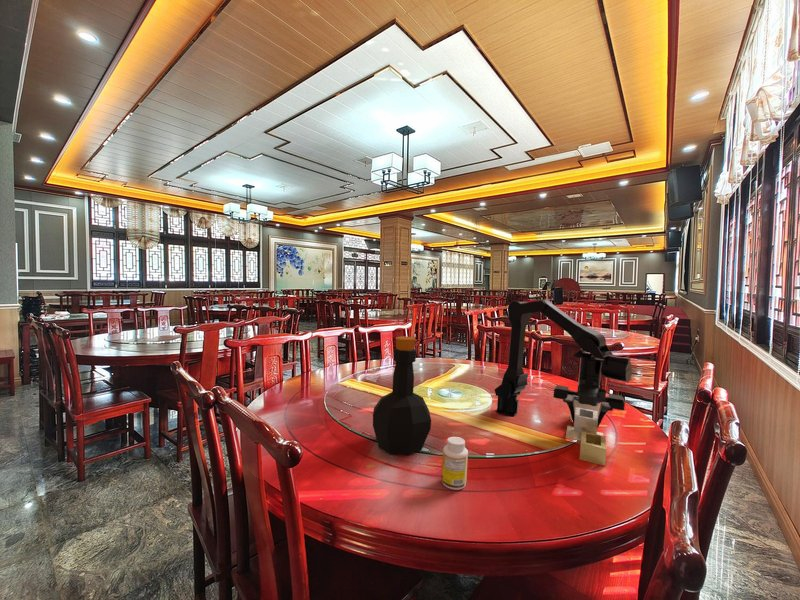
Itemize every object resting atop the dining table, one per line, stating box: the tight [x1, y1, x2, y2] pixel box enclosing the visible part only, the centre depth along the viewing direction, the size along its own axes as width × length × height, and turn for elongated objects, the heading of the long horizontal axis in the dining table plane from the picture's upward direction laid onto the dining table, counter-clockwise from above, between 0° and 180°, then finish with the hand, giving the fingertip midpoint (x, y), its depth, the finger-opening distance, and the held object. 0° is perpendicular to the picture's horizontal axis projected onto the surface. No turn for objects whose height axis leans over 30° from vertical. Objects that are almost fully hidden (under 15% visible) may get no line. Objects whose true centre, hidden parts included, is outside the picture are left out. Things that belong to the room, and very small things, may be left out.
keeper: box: [565, 425, 604, 445], centre depth 110 cm, size 10×10×5 cm
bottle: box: [372, 335, 432, 456], centre depth 99 cm, size 16×16×30 cm
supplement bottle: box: [441, 436, 469, 491], centre depth 82 cm, size 6×6×10 cm
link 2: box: [579, 431, 608, 466], centre depth 100 cm, size 9×6×4 cm, turn 152°
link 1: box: [573, 407, 598, 434], centre depth 110 cm, size 9×6×4 cm, turn 152°
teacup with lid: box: [569, 398, 601, 421], centre depth 125 cm, size 12×9×12 cm
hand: (585, 424), depth 110 cm, fingers closed on link 1, 6 cm apart
